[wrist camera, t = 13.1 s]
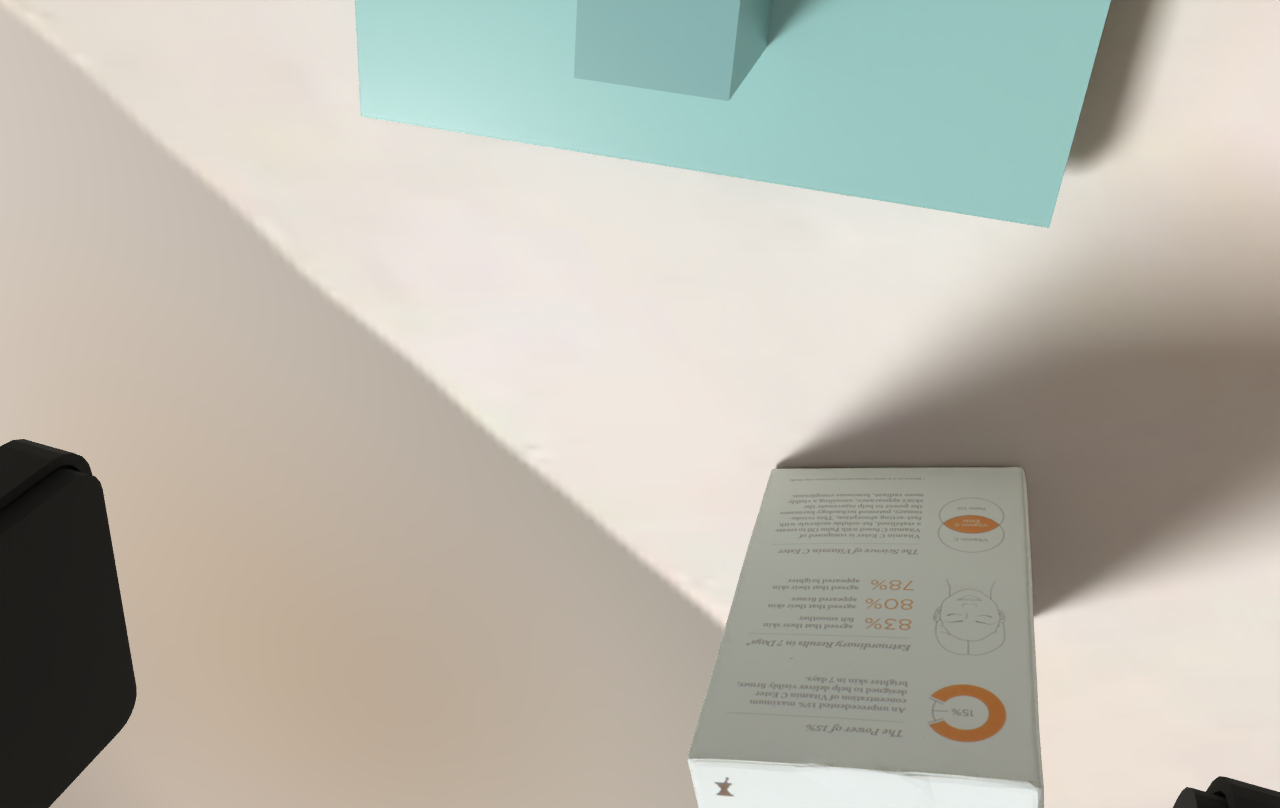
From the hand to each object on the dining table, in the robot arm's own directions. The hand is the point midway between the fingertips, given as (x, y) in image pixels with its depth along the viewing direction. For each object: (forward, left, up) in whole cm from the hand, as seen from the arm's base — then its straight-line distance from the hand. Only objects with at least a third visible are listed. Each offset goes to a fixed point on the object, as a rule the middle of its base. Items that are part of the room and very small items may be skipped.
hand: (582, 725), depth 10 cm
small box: (-4, +16, -26) cm, 30 cm away
